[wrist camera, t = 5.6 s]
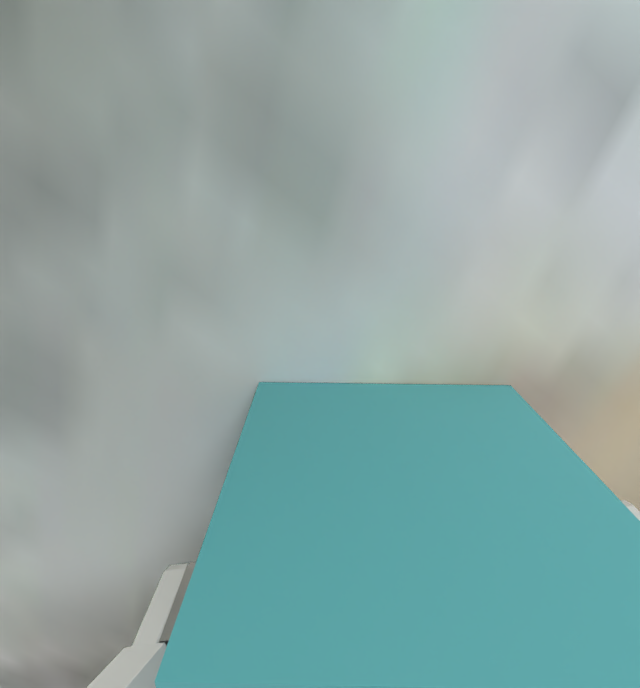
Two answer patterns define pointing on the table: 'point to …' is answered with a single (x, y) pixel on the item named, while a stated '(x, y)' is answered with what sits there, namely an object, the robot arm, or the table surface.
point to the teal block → (408, 550)
